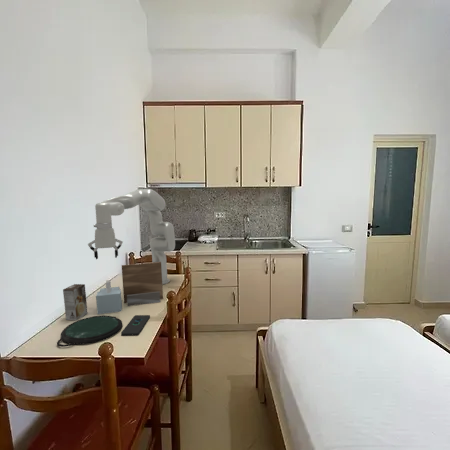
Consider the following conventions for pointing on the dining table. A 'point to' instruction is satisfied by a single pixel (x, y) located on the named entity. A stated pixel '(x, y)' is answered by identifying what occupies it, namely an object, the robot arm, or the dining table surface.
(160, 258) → the robot arm
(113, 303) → the block with top knob
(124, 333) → the smart home device
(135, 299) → the wall board
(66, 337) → the dark green flat disc
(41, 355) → the dining table surface
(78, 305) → the coffee box
